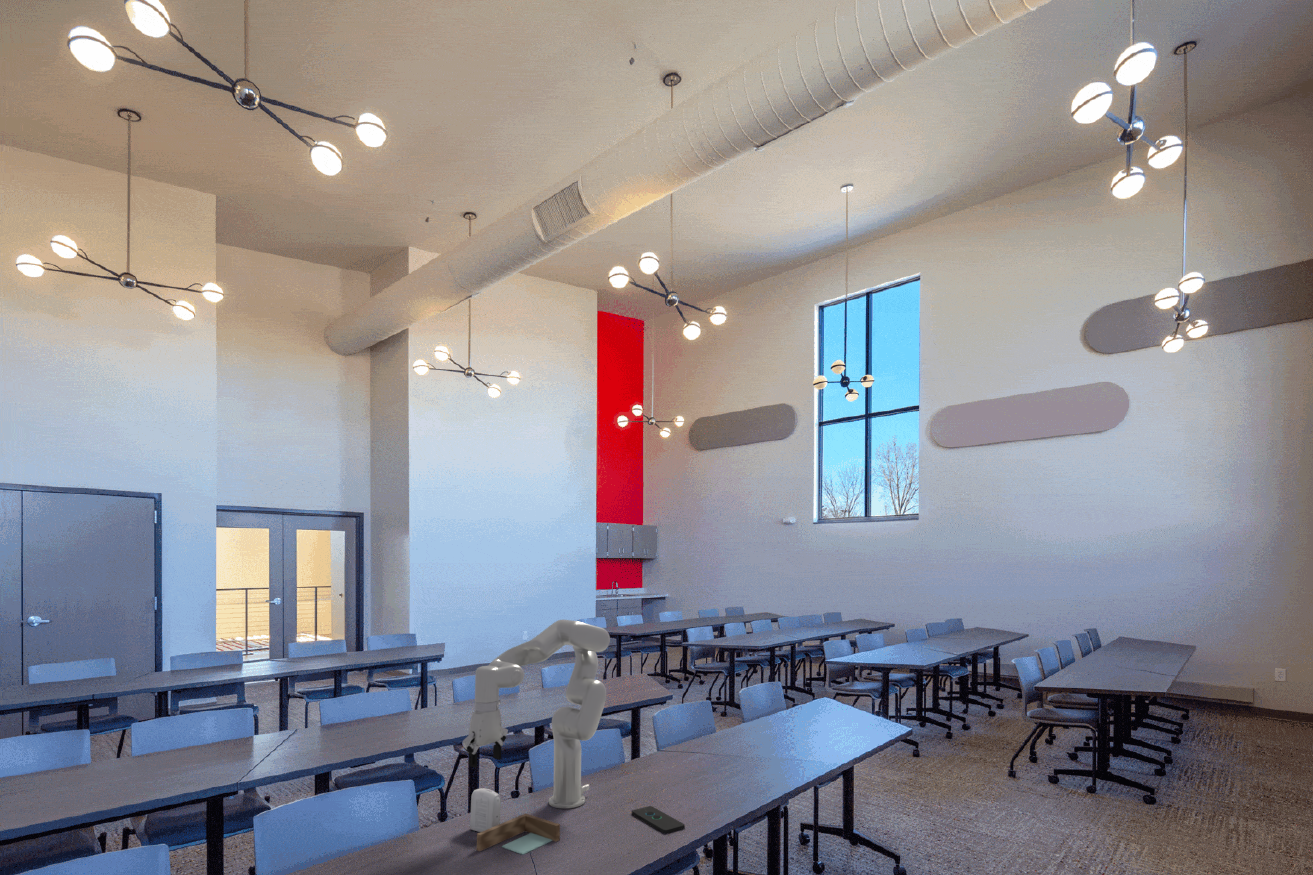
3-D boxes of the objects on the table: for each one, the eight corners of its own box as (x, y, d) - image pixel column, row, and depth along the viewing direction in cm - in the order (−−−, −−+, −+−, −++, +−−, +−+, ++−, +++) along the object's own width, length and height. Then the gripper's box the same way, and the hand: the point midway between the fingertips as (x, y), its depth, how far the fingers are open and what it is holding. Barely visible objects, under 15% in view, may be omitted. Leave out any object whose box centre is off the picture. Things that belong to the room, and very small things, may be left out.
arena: (525, 828, 226) (525, 813, 226) (559, 839, 217) (559, 824, 218) (476, 849, 210) (477, 833, 211) (511, 863, 201) (511, 846, 202)
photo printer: (502, 831, 224) (503, 789, 225) (492, 836, 220) (493, 794, 222) (477, 825, 229) (478, 784, 230) (467, 830, 225) (469, 788, 227)
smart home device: (651, 804, 242) (685, 824, 226) (651, 810, 242) (686, 829, 225) (630, 809, 238) (664, 829, 221) (630, 815, 237) (664, 835, 221)
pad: (531, 833, 222) (531, 832, 222) (552, 840, 217) (552, 839, 217) (501, 846, 212) (501, 845, 212) (522, 854, 207) (522, 853, 207)
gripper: (499, 699, 238) (498, 753, 235) (457, 710, 224) (455, 767, 222) (515, 702, 233) (514, 757, 231) (472, 713, 219) (470, 772, 217)
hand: (485, 762), depth 226 cm, fingers open, 9 cm apart
